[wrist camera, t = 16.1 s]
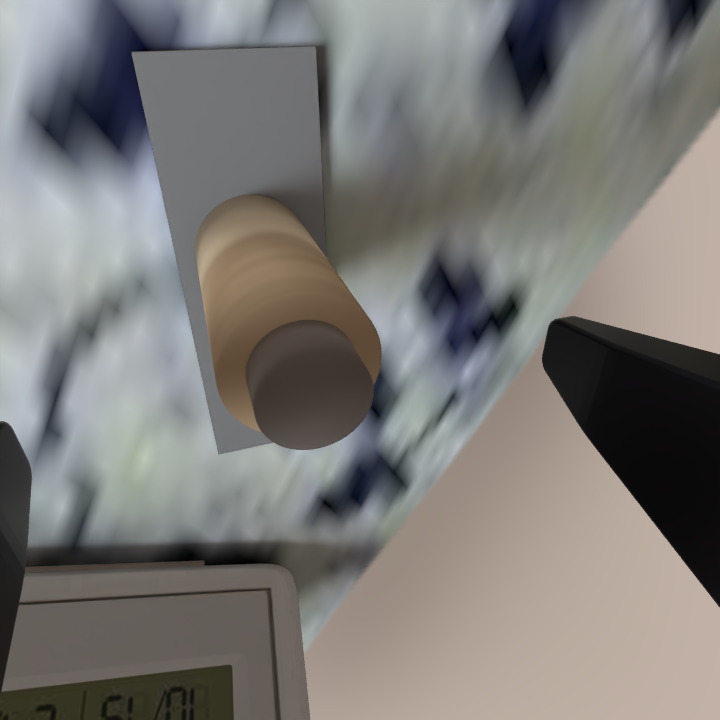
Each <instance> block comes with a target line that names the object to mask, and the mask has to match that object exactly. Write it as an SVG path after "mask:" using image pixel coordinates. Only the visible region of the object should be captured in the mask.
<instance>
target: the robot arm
mask: <svg viewBox="0 0 720 720" xmlns="http://www.w3.org/2000/svg"><path fill="white" fill-rule="evenodd" d="M542 363H543V367H544V370H545V371H546V373H547V375H548V376H549V378H550V379H551V381H552V383H553V384H554V386H555V387H556V389H557V391H558V392H559V394H560V396H561V397H562V398H563V400H564V402H565V403H566V405H567V407H568V408H569V410H570V411H571V413H572V415H573V416H574V418H575V419H576V421H577V423H578V424H579V426H580V427H581V429H582V430H583V432H584V433H585V435H586V436H587V437H588V439H589V440H590V441H591V443H592V444H593V445H594V446H595V448H596V449H597V450H598V452H599V453H600V454H601V455H602V457H603V458H604V459H605V461H606V462H607V463H608V464H609V465H610V467H611V468H612V470H613V471H614V472H615V474H616V475H617V476H618V477H619V479H620V480H621V481H622V483H623V484H624V485H625V486H626V488H627V489H628V490H629V492H630V493H631V494H632V495H633V497H634V498H635V499H636V501H637V502H638V503H639V504H640V506H641V507H642V508H643V509H644V511H645V512H646V513H647V515H648V516H649V517H650V518H651V520H652V521H653V522H654V523H655V525H656V526H657V527H658V529H659V530H660V531H661V533H662V534H663V535H664V537H665V538H666V539H667V540H668V542H669V543H670V544H671V546H672V547H673V548H674V549H675V551H676V552H677V553H678V554H679V556H680V557H681V558H682V560H683V561H684V562H685V564H686V565H687V566H688V567H689V569H690V570H691V571H692V572H693V574H694V575H695V576H696V578H697V579H698V580H699V582H700V583H701V584H702V585H703V587H704V588H705V589H706V590H707V592H708V593H709V594H710V596H711V597H712V598H713V599H714V601H715V602H716V603H717V605H718V606H719V607H720V354H716V353H712V352H708V351H704V350H701V349H697V348H693V347H689V346H686V345H682V344H678V343H674V342H670V341H667V340H663V339H659V338H655V337H652V336H648V335H644V334H640V333H636V332H632V331H629V330H625V329H621V328H617V327H614V326H610V325H606V324H602V323H598V322H595V321H591V320H587V319H583V318H579V317H575V316H569V317H564V318H559V319H555V320H553V321H552V322H551V323H550V325H549V327H548V332H547V336H546V341H545V346H544V350H543V355H542ZM31 483H32V473H31V467H30V464H29V461H28V459H27V457H26V455H25V453H24V451H23V449H22V447H21V445H20V443H19V441H18V439H17V437H16V435H15V433H14V431H13V429H12V427H11V426H10V425H9V424H8V423H6V422H4V421H0V696H1V691H2V686H3V681H4V677H5V672H6V667H7V662H8V657H9V652H10V647H11V642H12V637H13V632H14V627H15V622H16V617H17V612H18V607H19V602H20V597H21V592H22V587H23V581H24V575H25V568H26V557H27V543H28V528H29V513H30V498H31Z"/></svg>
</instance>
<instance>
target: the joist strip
mask: <svg viewBox="0 0 720 720" xmlns="http://www.w3.org/2000/svg"><path fill="white" fill-rule="evenodd" d="M132 57H133V62H134V66H135V71H136V75H137V80H138V85H139V89H140V94H141V99H142V103H143V108H144V112H145V117H146V122H147V126H148V131H149V135H150V140H151V145H152V149H153V154H154V159H155V163H156V168H157V172H158V177H159V182H160V186H161V191H162V195H163V200H164V205H165V209H166V214H167V218H168V223H169V228H170V232H171V237H172V242H173V246H174V251H175V255H176V260H177V265H178V269H179V274H180V278H181V283H182V288H183V292H184V297H185V301H186V306H187V311H188V315H189V320H190V325H191V329H192V334H193V338H194V343H195V348H196V352H197V357H198V361H199V366H200V371H201V375H202V380H203V384H204V389H205V394H206V398H207V403H208V408H209V412H210V417H211V421H212V426H213V431H214V435H215V440H216V444H217V449H218V454H223V453H228V452H232V451H237V450H241V449H246V448H250V447H255V446H260V445H264V444H269V443H273V442H272V441H271V440H269V439H268V438H267V437H266V436H265V435H264V434H263V433H262V432H259V431H256V430H254V429H252V428H249V427H248V426H246V425H244V424H243V423H241V422H240V421H239V420H237V419H236V418H235V417H234V416H233V415H232V414H231V413H230V412H229V411H228V410H227V408H226V407H225V405H224V404H223V402H222V400H221V398H220V396H219V393H218V389H217V386H216V379H215V373H214V367H213V361H212V355H211V349H210V342H209V336H208V330H207V324H206V318H205V312H204V305H203V299H202V293H201V287H200V281H199V275H198V268H197V262H196V255H195V242H196V236H197V233H198V230H199V228H200V226H201V224H202V222H203V220H204V219H205V217H206V216H207V215H208V214H209V213H210V212H211V211H212V210H213V209H214V208H215V207H216V206H218V205H219V204H221V203H223V202H224V201H226V200H229V199H231V198H234V197H237V196H243V195H262V196H266V197H270V198H272V199H275V200H277V201H279V202H281V203H283V204H284V205H285V206H287V207H288V208H289V209H290V210H291V211H293V212H294V214H295V215H296V216H297V217H298V219H299V220H300V221H301V223H302V224H303V226H304V227H305V228H306V230H307V231H308V233H309V234H310V235H311V237H312V238H313V240H314V241H315V243H316V244H317V245H318V247H319V248H320V250H321V251H322V252H323V254H324V255H325V257H326V238H325V219H324V199H323V179H322V160H321V140H320V120H319V101H318V81H317V61H316V47H315V46H300V47H267V48H233V49H200V50H167V51H134V52H132Z"/></svg>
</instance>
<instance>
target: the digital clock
mask: <svg viewBox="0 0 720 720" xmlns="http://www.w3.org/2000/svg"><path fill="white" fill-rule="evenodd" d="M0 720H310V713H309V703H308V693H307V683H306V673H305V664H304V653H303V643H302V633H301V623H300V613H299V603H298V596H297V589H296V585H295V581H294V579H293V576H292V575H291V573H290V572H289V571H288V570H287V569H286V568H284V567H282V566H279V565H275V564H236V565H210V566H205V561H176V562H148V563H120V564H91V565H63V566H34V567H26V568H25V575H24V581H23V587H22V592H21V597H20V602H19V607H18V612H17V617H16V622H15V627H14V632H13V637H12V642H11V647H10V652H9V657H8V662H7V667H6V672H5V677H4V681H3V686H2V691H1V696H0Z"/></svg>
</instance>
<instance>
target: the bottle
mask: <svg viewBox="0 0 720 720" xmlns="http://www.w3.org/2000/svg"><path fill="white" fill-rule="evenodd" d="M195 255H196V262H197V268H198V275H199V281H200V287H201V293H202V299H203V305H204V312H205V318H206V324H207V330H208V336H209V342H210V349H211V355H212V361H213V367H214V373H215V379H216V386H217V389H218V393H219V396H220V398H221V400H222V402H223V404H224V405H225V407H226V408H227V410H228V411H229V412H230V413H231V414H232V415H233V416H234V417H235V418H236V419H237V420H239V421H240V422H241V423H243V424H244V425H246V426H248V427H249V428H252V429H254V430H256V431H259V432H262V433H263V434H264V435H265V436H266V437H267V438H268V439H269V440H271V441H272V442H274V443H276V444H278V445H280V446H282V447H286V448H289V449H296V450H310V449H317V448H321V447H325V446H328V445H331V444H333V443H335V442H337V441H339V440H341V439H343V438H344V437H346V436H347V435H349V434H350V433H351V432H353V431H354V430H355V429H356V428H357V427H358V426H359V425H360V423H361V422H362V421H363V420H364V418H365V417H366V415H367V413H368V411H369V409H370V407H371V404H372V400H373V394H374V387H373V385H374V383H375V381H376V379H377V376H378V373H379V369H380V365H381V344H380V339H379V336H378V333H377V331H376V329H375V327H374V325H373V323H372V322H371V320H370V319H369V317H368V316H367V315H366V313H365V312H364V310H363V309H362V307H361V306H360V305H359V303H358V302H357V300H356V299H355V298H354V296H353V295H352V293H351V292H350V291H349V289H348V288H347V286H346V285H345V283H344V282H343V281H342V279H341V278H340V276H339V275H338V274H337V272H336V271H335V269H334V268H333V267H332V265H331V264H330V262H329V261H328V259H327V258H326V257H325V255H324V254H323V252H322V251H321V250H320V248H319V247H318V245H317V244H316V243H315V241H314V240H313V238H312V237H311V235H310V234H309V233H308V231H307V230H306V228H305V227H304V226H303V224H302V223H301V221H300V220H299V219H298V217H297V216H296V215H295V214H294V212H293V211H291V210H290V209H289V208H288V207H287V206H285V205H284V204H283V203H281V202H279V201H277V200H275V199H272V198H270V197H266V196H262V195H243V196H237V197H234V198H231V199H229V200H226V201H224V202H223V203H221V204H219V205H218V206H216V207H215V208H214V209H213V210H212V211H211V212H210V213H209V214H208V215H207V216H206V217H205V219H204V220H203V222H202V224H201V226H200V228H199V230H198V233H197V236H196V242H195Z"/></svg>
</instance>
